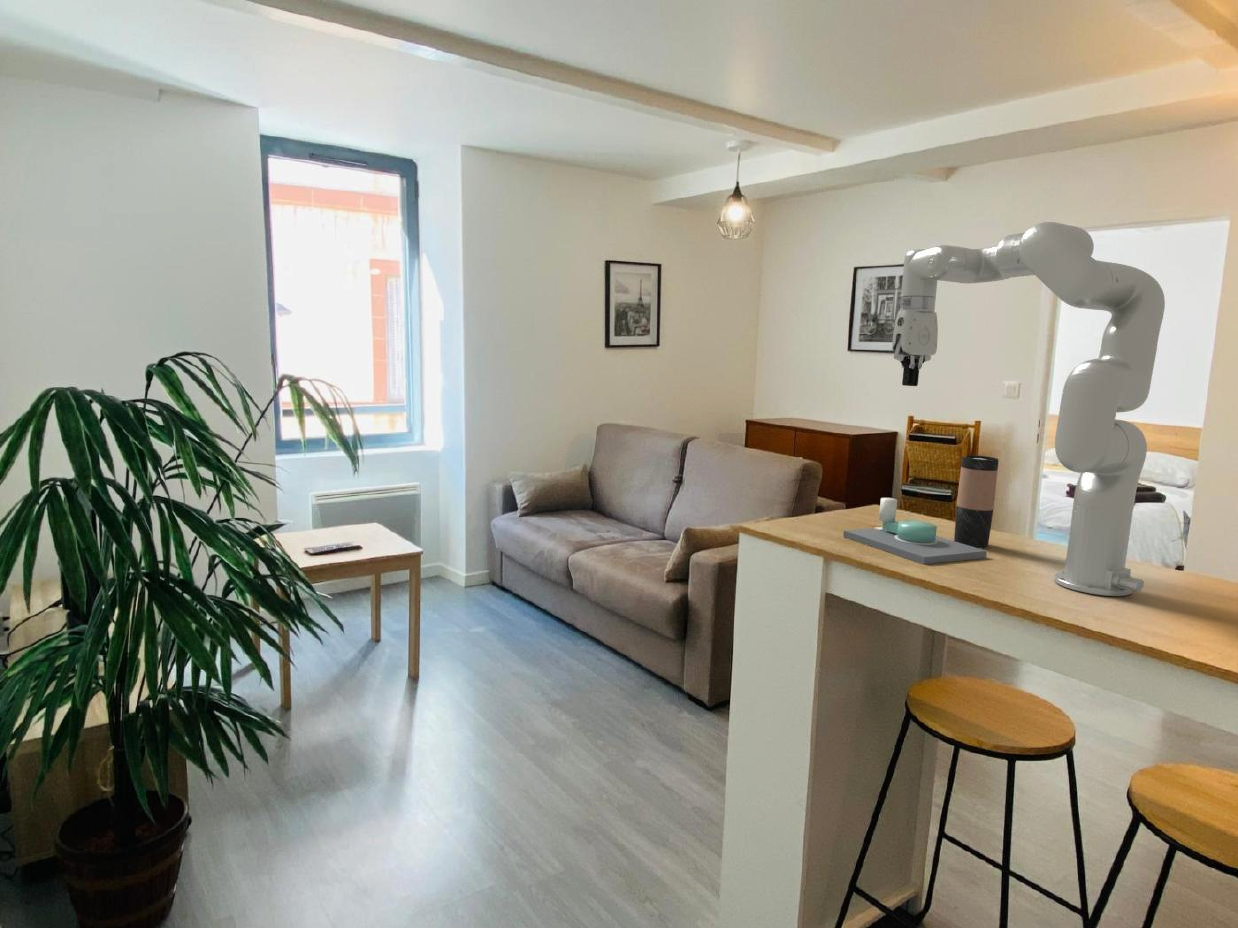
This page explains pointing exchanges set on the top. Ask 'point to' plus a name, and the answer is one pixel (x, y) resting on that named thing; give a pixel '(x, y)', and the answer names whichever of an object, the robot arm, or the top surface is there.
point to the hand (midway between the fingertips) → (909, 385)
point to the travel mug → (975, 500)
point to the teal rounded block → (905, 524)
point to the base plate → (915, 546)
